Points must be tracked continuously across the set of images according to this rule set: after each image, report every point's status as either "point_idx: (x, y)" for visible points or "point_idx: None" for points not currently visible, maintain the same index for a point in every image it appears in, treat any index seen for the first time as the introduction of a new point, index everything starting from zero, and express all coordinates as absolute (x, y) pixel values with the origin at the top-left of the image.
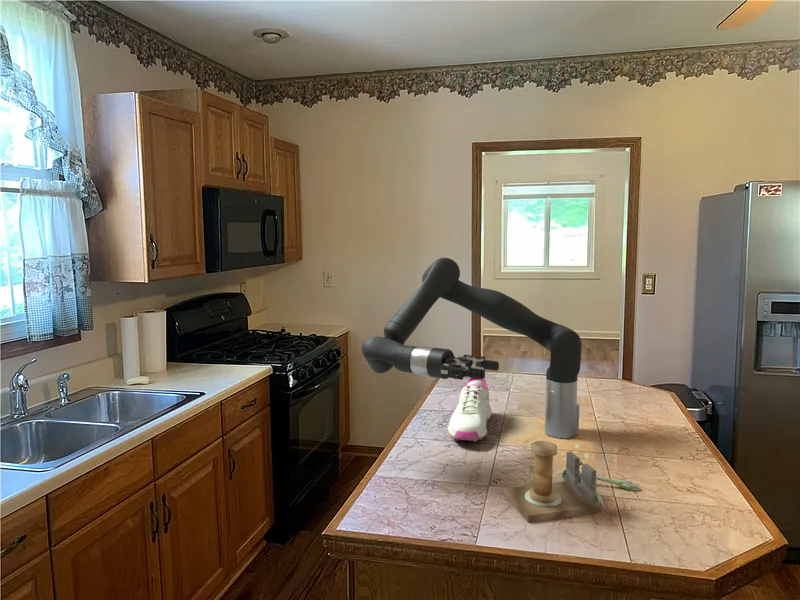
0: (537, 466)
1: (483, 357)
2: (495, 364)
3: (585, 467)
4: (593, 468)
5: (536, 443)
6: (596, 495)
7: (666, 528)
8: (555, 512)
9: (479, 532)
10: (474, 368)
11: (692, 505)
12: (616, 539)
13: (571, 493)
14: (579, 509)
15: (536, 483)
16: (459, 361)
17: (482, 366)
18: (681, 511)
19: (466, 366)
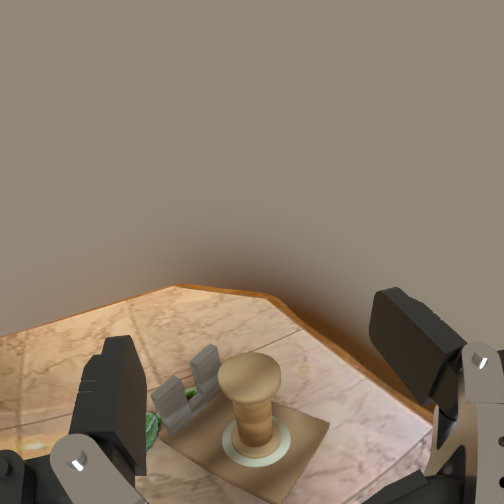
0: (270, 403)
1: (14, 465)
2: (131, 359)
3: (204, 359)
4: (204, 348)
5: (247, 388)
6: (186, 393)
7: (209, 331)
8: (284, 407)
9: (411, 446)
10: (429, 326)
11: (140, 329)
12: (272, 350)
13: (206, 417)
14: None
15: (271, 426)
16: (495, 491)
17: (132, 482)
18: (160, 332)
19: (470, 379)
